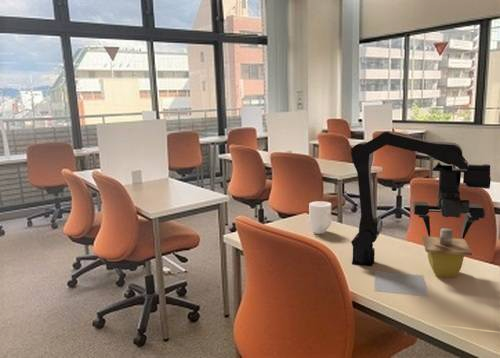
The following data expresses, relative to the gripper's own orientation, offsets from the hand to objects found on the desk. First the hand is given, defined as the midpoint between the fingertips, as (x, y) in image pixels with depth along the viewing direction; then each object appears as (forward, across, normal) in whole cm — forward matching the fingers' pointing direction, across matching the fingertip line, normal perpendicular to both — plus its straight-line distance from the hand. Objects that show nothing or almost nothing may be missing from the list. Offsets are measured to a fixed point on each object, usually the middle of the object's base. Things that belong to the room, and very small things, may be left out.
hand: (445, 237), depth 123 cm
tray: (+12, -13, -10) cm, 20 cm away
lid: (+3, 0, 0) cm, 3 cm away
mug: (+12, -41, +32) cm, 53 cm away
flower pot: (+12, 0, 0) cm, 12 cm away
